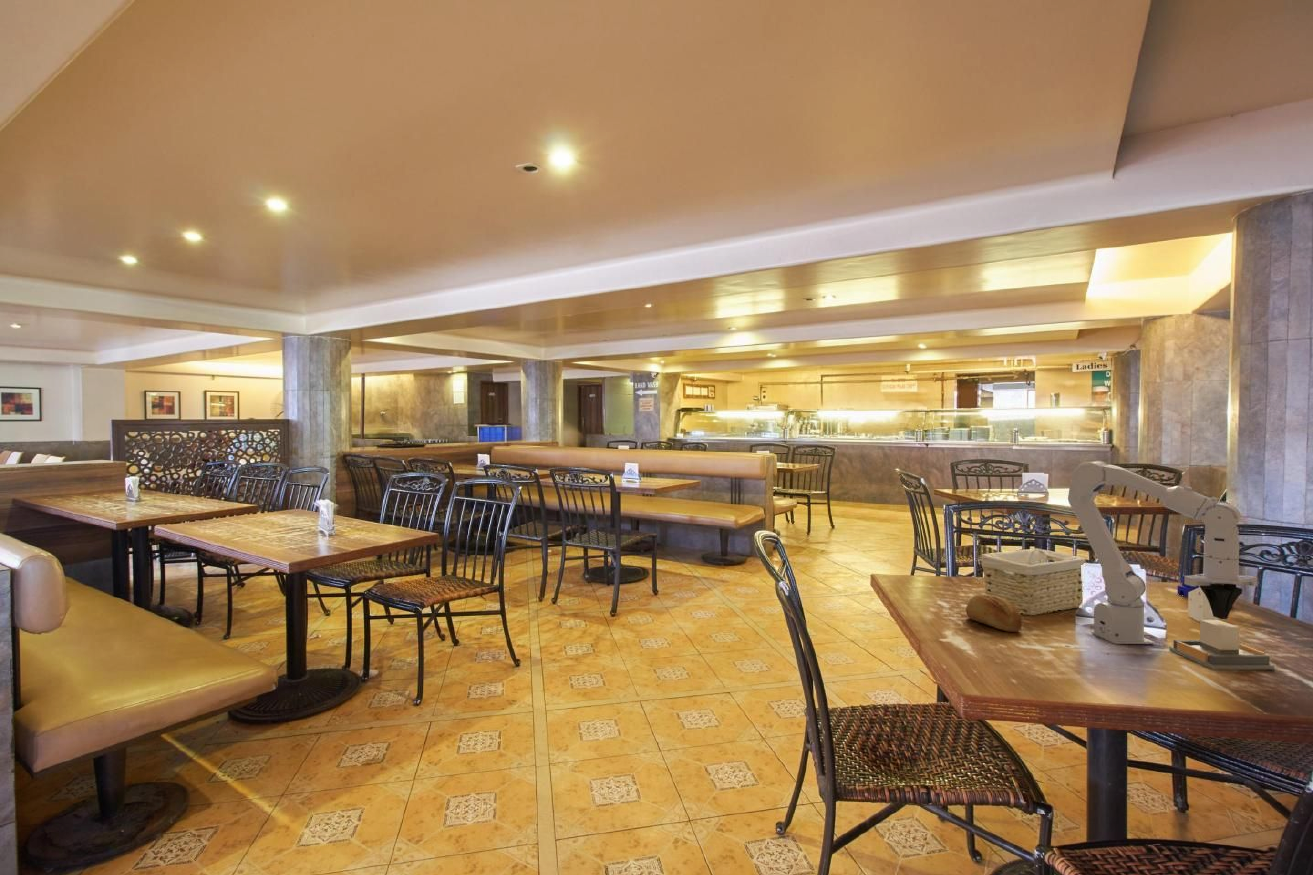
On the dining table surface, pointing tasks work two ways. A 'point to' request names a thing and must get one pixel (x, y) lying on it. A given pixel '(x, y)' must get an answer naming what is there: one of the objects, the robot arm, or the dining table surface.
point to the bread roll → (994, 612)
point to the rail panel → (1222, 657)
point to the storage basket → (1034, 579)
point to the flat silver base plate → (1241, 652)
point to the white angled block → (1199, 606)
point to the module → (1219, 636)
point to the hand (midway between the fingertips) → (1220, 617)
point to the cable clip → (1185, 588)
